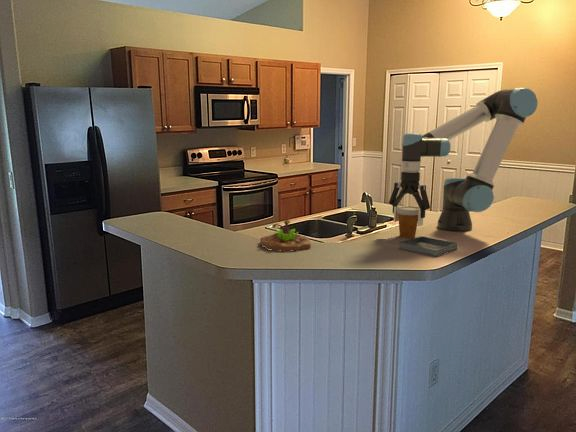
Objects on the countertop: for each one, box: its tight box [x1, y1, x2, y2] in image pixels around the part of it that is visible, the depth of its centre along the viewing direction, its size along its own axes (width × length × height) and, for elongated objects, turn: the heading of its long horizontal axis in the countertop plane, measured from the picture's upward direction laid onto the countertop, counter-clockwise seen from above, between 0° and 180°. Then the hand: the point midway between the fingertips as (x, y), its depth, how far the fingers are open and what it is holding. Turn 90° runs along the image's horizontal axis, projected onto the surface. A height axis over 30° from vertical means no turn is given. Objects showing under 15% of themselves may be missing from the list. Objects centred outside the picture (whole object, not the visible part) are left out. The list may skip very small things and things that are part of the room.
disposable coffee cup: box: [397, 206, 420, 239], centre depth 202 cm, size 10×10×12 cm
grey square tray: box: [398, 235, 459, 258], centre depth 183 cm, size 16×16×2 cm
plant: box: [259, 218, 312, 252], centre depth 189 cm, size 20×20×11 cm
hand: (407, 223), depth 202 cm, fingers open, 11 cm apart
